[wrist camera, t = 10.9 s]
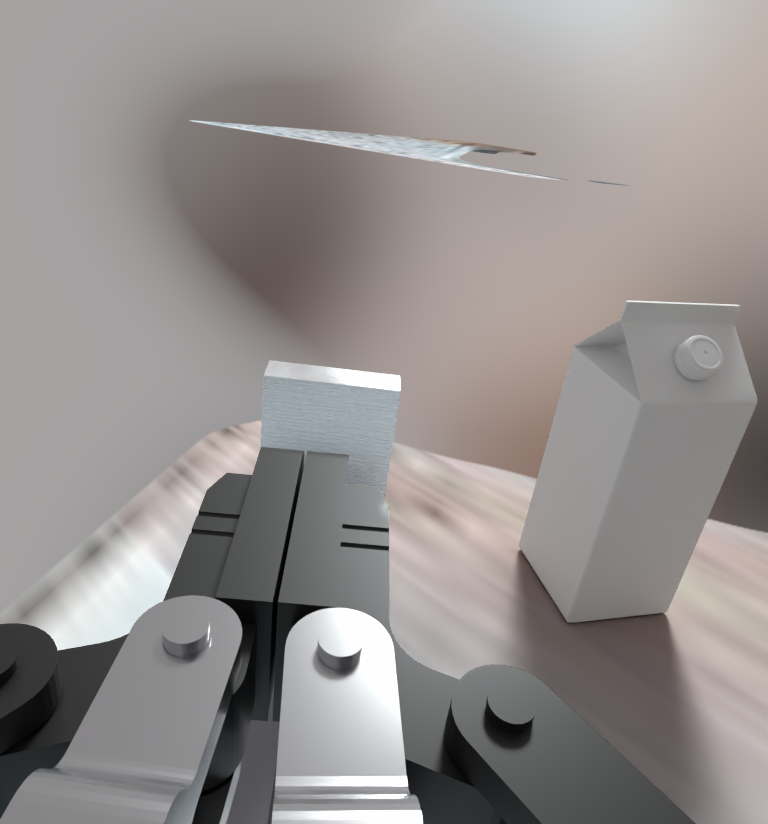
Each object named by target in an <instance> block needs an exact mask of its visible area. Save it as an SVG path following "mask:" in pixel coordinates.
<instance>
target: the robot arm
mask: <svg viewBox="0 0 768 824" xmlns="http://www.w3.org/2000/svg"><path fill="white" fill-rule="evenodd" d="M348 460H349V455H345V454H334V453H324V452H313V451H307V455H306V460H305V465H304V451H301V450H290V449H280V448H270V447H261V449H260V452H259V455H258V459H257V462H256V465H255V468H254V472H253V475H244V474H234V473H226V474H225V475H224V476H223V477H222V478H220V479H219V480H218V481H217V482H216V483H215V484H214V485H212V486H211V487H210V488H209V489H208V490H207V492H206V494H205V497H204V499H203V502H202V504H201V507H200V510H199V514H198V516H197V517H196V520H195V522H194V525H193V527H192V532H191V533H190V535H189V537H188V540H187V543H186V545H185V548H184V550H183V553H182V555H181V558H180V560H179V563H178V565H177V568H176V571H175V573H174V576H173V578H172V581H171V583H170V586H169V588H168V591H167V593H166V596H165V598H164V601H163V602H161V603H159V604H157V605H155V606H153V607H152V608H150V609H149V610H147V611H146V612H145V613H144V614H142V615H141V617H140V618H139V619H138V620H137V621H136V622H135V624H134V626H133V627H132V629H131V631H130V633H129V634H127V635H125V636H122V637H120V638H117V639H114V640H111V641H107V642H103V643H99V644H93V645H87V646H82V647H76V648H70V649H65V650H59V651H57V647H56V645H55V642H54V641H53V639H52V638H51V637H50V635H48V634H47V633H46V632H44V631H43V630H41V629H39V628H37V627H34V626H30V625H26V624H18V623H16V624H0V824H226V822H227V819H228V815H229V811H230V808H231V804H232V801H233V797H234V794H235V790H236V787H237V783H238V779H239V775H240V770H241V760H242V758H243V755H244V751H245V747H246V742H247V737H248V732H249V727H250V722H251V720H258V721H268V717H269V711H270V705H271V700H272V694H273V688H274V699H273V721H275V722H280V726H279V740H278V754H277V768H276V781H275V794H274V801H273V813H272V824H695V823H694V822H693V821H692V820H691V819H690V818H689V817H688V816H687V815H686V814H685V813H684V812H682V811H681V810H680V809H679V808H678V807H677V806H676V805H675V804H674V803H673V802H672V801H671V800H670V799H668V798H667V797H666V796H665V795H664V794H663V793H662V792H661V791H660V790H659V789H658V788H657V787H656V786H654V785H653V784H652V783H651V782H650V781H649V780H648V779H647V778H646V777H645V776H644V775H643V774H642V773H640V772H639V771H638V770H637V769H636V768H635V767H634V766H633V765H632V764H631V763H630V762H629V761H628V760H626V759H625V758H624V757H623V756H622V755H621V754H620V753H619V752H618V751H617V750H616V749H615V748H614V747H612V746H611V745H610V744H609V743H608V742H607V741H606V740H605V739H604V738H603V737H602V736H601V735H600V734H598V733H597V732H596V731H595V730H594V729H593V728H592V727H591V726H590V725H589V724H588V723H587V722H586V721H584V720H583V719H582V718H581V717H580V716H579V715H578V714H577V713H576V712H575V711H574V710H573V709H571V708H570V707H569V706H568V705H567V704H566V703H565V702H564V701H563V700H562V699H561V698H560V697H559V696H557V695H556V694H555V693H554V692H553V691H552V690H551V689H550V688H549V687H548V686H547V685H545V684H544V683H543V682H542V681H541V680H539V679H538V678H536V677H535V676H533V675H531V674H530V673H527V672H525V671H523V670H521V669H518V668H515V667H511V666H505V665H486V666H481V667H478V668H475V669H473V670H471V671H469V672H468V673H466V674H465V675H464V676H463V677H462V678H461V679H460V680H459V679H456V678H453V677H451V676H448V675H445V674H443V673H440V672H437V671H434V670H432V669H430V668H428V667H425V666H423V665H422V664H420V663H418V662H417V661H415V660H414V659H412V658H411V657H410V656H409V655H407V654H406V653H405V652H404V650H403V649H402V648H401V647H400V646H399V644H398V643H397V642H396V640H395V638H394V636H393V634H392V631H391V628H390V623H389V506H388V504H387V502H386V501H385V499H384V498H383V496H382V494H381V493H380V491H379V489H378V488H377V487H375V486H364V485H353V484H346V482H347V471H348Z"/></svg>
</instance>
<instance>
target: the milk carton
mask: <svg viewBox="0 0 768 824" xmlns="http://www.w3.org/2000/svg"><path fill="white" fill-rule="evenodd" d="M740 309H741V306H739V305H729V304H703V303H678V302H651V301H626V302H625V305H624V309H623V312H622V315H621V318H620V320H619V321H618V322H616V323H614V324H612V325H611V326H609V327H607V328H605V329H603V330H602V331H600V332H598V333H596V334H595V335H593V336H591V337H589V338H587V339H585V340H583V341H582V342H580V343H578V344H576V345H575V346H574V348H573V352H572V356H571V359H570V363H569V366H568V370H567V373H566V377H565V381H564V384H563V388H562V392H561V395H560V399H559V402H558V406H557V409H556V413H555V417H554V420H553V424H552V427H551V431H550V435H549V438H548V442H547V445H546V449H545V453H544V456H543V460H542V464H541V467H540V471H539V474H538V478H537V481H536V485H535V489H534V492H533V496H532V499H531V503H530V507H529V510H528V514H527V517H526V521H525V525H524V528H523V532H522V535H521V539H520V543H519V547H520V549H521V550H522V552H523V553H524V555H525V556H526V558H527V560H528V561H529V563H530V564H531V566H532V568H533V569H534V571H535V572H536V574H537V575H538V577H539V578H540V580H541V582H542V583H543V585H544V586H545V588H546V589H547V591H548V593H549V594H550V596H551V597H552V599H553V600H554V602H555V604H556V605H557V607H558V608H559V610H560V611H561V613H562V614H563V616H564V618H565V619H566V621H567V622H569V623H573V622H583V621H592V620H601V619H610V618H619V617H629V616H638V615H647V614H656V613H663V612H666V611H667V610H668V608H669V606H670V604H671V601H672V599H673V597H674V594H675V592H676V590H677V587H678V585H679V583H680V580H681V578H682V576H683V574H684V571H685V569H686V567H687V564H688V562H689V560H690V557H691V555H692V553H693V550H694V548H695V546H696V543H697V541H698V539H699V537H700V534H701V532H702V530H703V527H704V525H705V523H706V520H707V518H708V516H709V513H710V511H711V509H712V506H713V504H714V502H715V499H716V497H717V495H718V493H719V490H720V488H721V486H722V483H723V481H724V479H725V476H726V474H727V472H728V469H729V467H730V465H731V462H732V460H733V458H734V456H735V453H736V451H737V449H738V446H739V444H740V442H741V439H742V437H743V435H744V432H745V430H746V428H747V425H748V423H749V420H750V418H751V416H752V414H753V411H754V409H755V406H756V404H757V397H756V393H755V390H754V387H753V384H752V380H751V377H750V374H749V371H748V367H747V364H746V361H745V358H744V354H743V351H742V348H741V345H740V341H739V338H738V334H737V331H736V328H735V325H734V324H735V322H736V319H737V316H738V314H739V311H740Z"/></svg>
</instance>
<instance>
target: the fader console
mask: <svg viewBox="0 0 768 824" xmlns="http://www.w3.org/2000/svg"><path fill="white" fill-rule="evenodd" d="M273 699H274V688H273V694H272V700H271V705H270V711H269V717H268V721H258V720H251V722H250V727H249V732H248V737H247V742H246V747H245V751H244V755H243V758H242V760H241V770H240V775H239V779H238V783H237V787H236V790H235V794H234V797H233V801H232V804H231V808H230V811H229V815H228V819H227V822H226V824H272V813H273V801H274V794H275V781H276V768H277V754H278V740H279V726H280V722H275V721H273Z"/></svg>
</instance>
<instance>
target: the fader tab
mask: <svg viewBox="0 0 768 824" xmlns="http://www.w3.org/2000/svg"><path fill="white" fill-rule="evenodd" d="M400 392H401V387H400V376H398V375H390V374H381V373H373V372H364V371H355V370H347V369H339V368H330V367H321V366H313V365H304V364H296V363H287V362H279V361H270V360H269V363H268V366H267V369H266V371H265V374H264V384H263V404H262V405H263V406H262V425H261V446H260V449H261V447H270V448H280V449H290V450H301V451H304V465H305V460H306V455H307V451H313V452H324V453H334V454H345V455H349V460H348V471H347V482H346V484H353V485H364V486H375V487H377V488H378V489H379V491H380V493H381V494H382V496H383V498H384V496H385V490H386V483H387V477H388V470H389V464H390V457H391V451H392V444H393V438H394V431H395V425H396V418H397V411H398V405H399V399H400Z"/></svg>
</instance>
